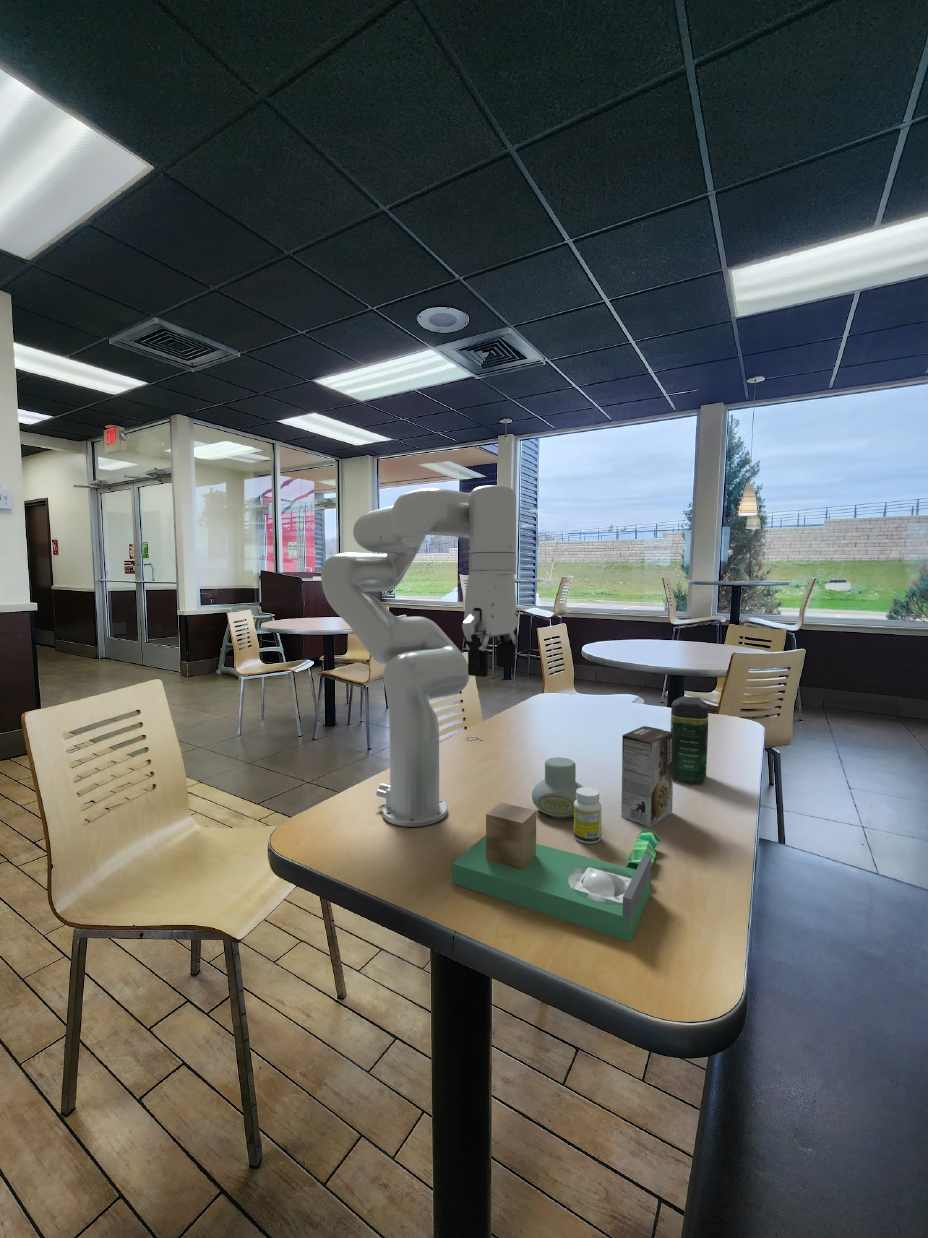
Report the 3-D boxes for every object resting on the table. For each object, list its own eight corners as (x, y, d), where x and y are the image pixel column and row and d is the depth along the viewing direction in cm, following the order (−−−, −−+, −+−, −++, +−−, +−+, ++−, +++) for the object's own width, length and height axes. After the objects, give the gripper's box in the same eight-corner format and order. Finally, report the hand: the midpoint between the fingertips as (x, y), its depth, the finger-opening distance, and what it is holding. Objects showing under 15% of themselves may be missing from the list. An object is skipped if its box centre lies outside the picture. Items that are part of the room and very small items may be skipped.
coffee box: (642, 803, 108) (643, 725, 107) (673, 813, 103) (675, 731, 102) (619, 817, 101) (620, 734, 100) (651, 828, 97) (653, 741, 96)
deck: (452, 883, 79) (451, 847, 79) (489, 848, 89) (489, 816, 89) (630, 942, 66) (631, 899, 65) (650, 894, 76) (650, 856, 76)
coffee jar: (706, 788, 116) (708, 704, 115) (667, 782, 119) (669, 700, 118) (706, 774, 125) (708, 695, 123) (670, 769, 128) (672, 692, 127)
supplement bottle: (581, 829, 96) (581, 784, 96) (605, 837, 93) (606, 790, 93) (568, 839, 93) (569, 792, 92) (593, 847, 90) (594, 799, 89)
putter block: (486, 859, 80) (486, 814, 80) (500, 845, 84) (501, 802, 84) (522, 870, 77) (522, 823, 76) (536, 855, 81) (536, 810, 81)
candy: (653, 882, 78) (637, 856, 79) (633, 890, 79) (618, 864, 80) (664, 847, 88) (650, 824, 89) (646, 854, 90) (632, 832, 91)
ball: (616, 907, 70) (588, 916, 72) (624, 891, 74) (598, 900, 76) (598, 875, 71) (572, 885, 73) (607, 861, 75) (582, 870, 77)
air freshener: (527, 816, 102) (527, 765, 101) (536, 800, 110) (537, 752, 109) (585, 825, 98) (586, 772, 98) (590, 807, 106) (591, 758, 105)
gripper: (496, 567, 94) (496, 663, 95) (443, 564, 79) (444, 677, 81) (535, 566, 91) (534, 666, 92) (488, 563, 76) (487, 682, 77)
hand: (492, 671), depth 86 cm, fingers open, 9 cm apart
